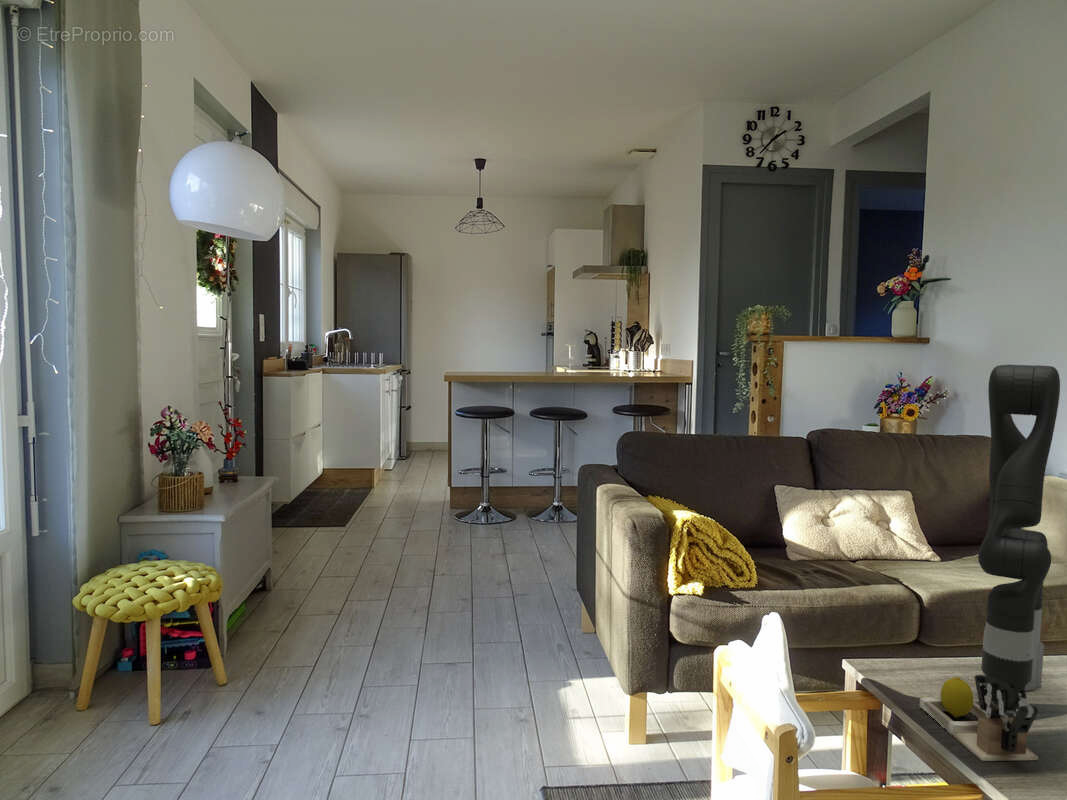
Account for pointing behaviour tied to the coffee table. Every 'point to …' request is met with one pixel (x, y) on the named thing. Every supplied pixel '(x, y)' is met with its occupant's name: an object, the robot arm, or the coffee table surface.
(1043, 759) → the coffee table surface
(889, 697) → the coffee table surface
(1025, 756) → the white open frame tray
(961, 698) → the lemon
